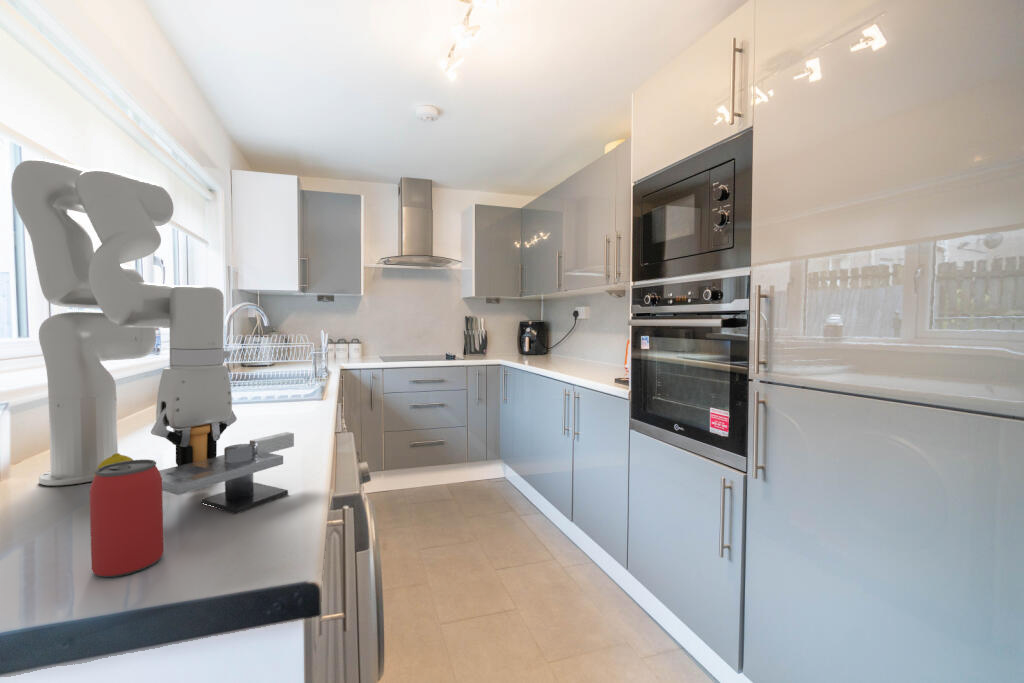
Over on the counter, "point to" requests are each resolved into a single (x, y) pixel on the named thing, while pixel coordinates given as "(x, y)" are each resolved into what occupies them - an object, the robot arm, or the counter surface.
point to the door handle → (232, 474)
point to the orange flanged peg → (199, 442)
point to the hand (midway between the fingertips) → (196, 464)
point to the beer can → (126, 518)
